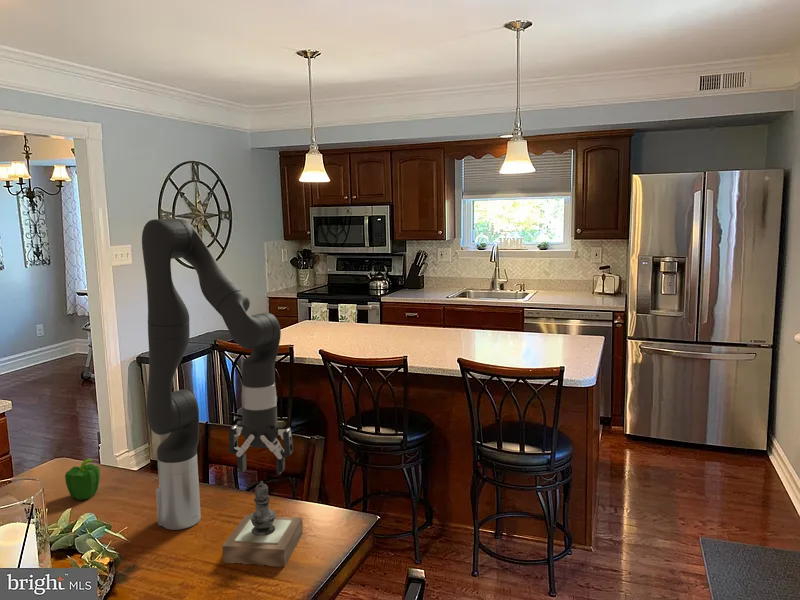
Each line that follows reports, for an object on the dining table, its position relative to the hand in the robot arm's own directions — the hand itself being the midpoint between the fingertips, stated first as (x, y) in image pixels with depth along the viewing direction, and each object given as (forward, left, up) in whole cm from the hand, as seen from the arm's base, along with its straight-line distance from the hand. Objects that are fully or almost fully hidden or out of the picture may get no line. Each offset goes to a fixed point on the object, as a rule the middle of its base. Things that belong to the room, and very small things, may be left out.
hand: (261, 471), depth 138 cm
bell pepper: (-58, +19, -19) cm, 64 cm away
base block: (0, 0, -18) cm, 18 cm away
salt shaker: (0, 0, -14) cm, 14 cm away
